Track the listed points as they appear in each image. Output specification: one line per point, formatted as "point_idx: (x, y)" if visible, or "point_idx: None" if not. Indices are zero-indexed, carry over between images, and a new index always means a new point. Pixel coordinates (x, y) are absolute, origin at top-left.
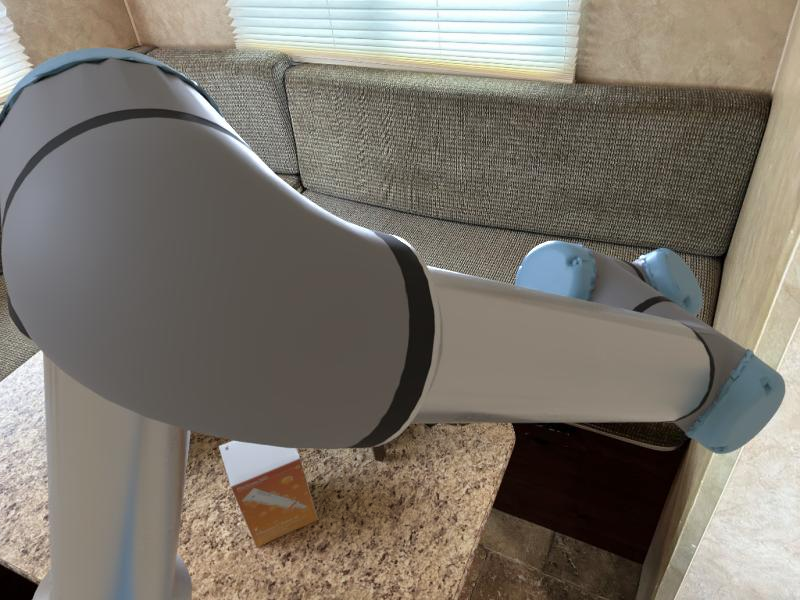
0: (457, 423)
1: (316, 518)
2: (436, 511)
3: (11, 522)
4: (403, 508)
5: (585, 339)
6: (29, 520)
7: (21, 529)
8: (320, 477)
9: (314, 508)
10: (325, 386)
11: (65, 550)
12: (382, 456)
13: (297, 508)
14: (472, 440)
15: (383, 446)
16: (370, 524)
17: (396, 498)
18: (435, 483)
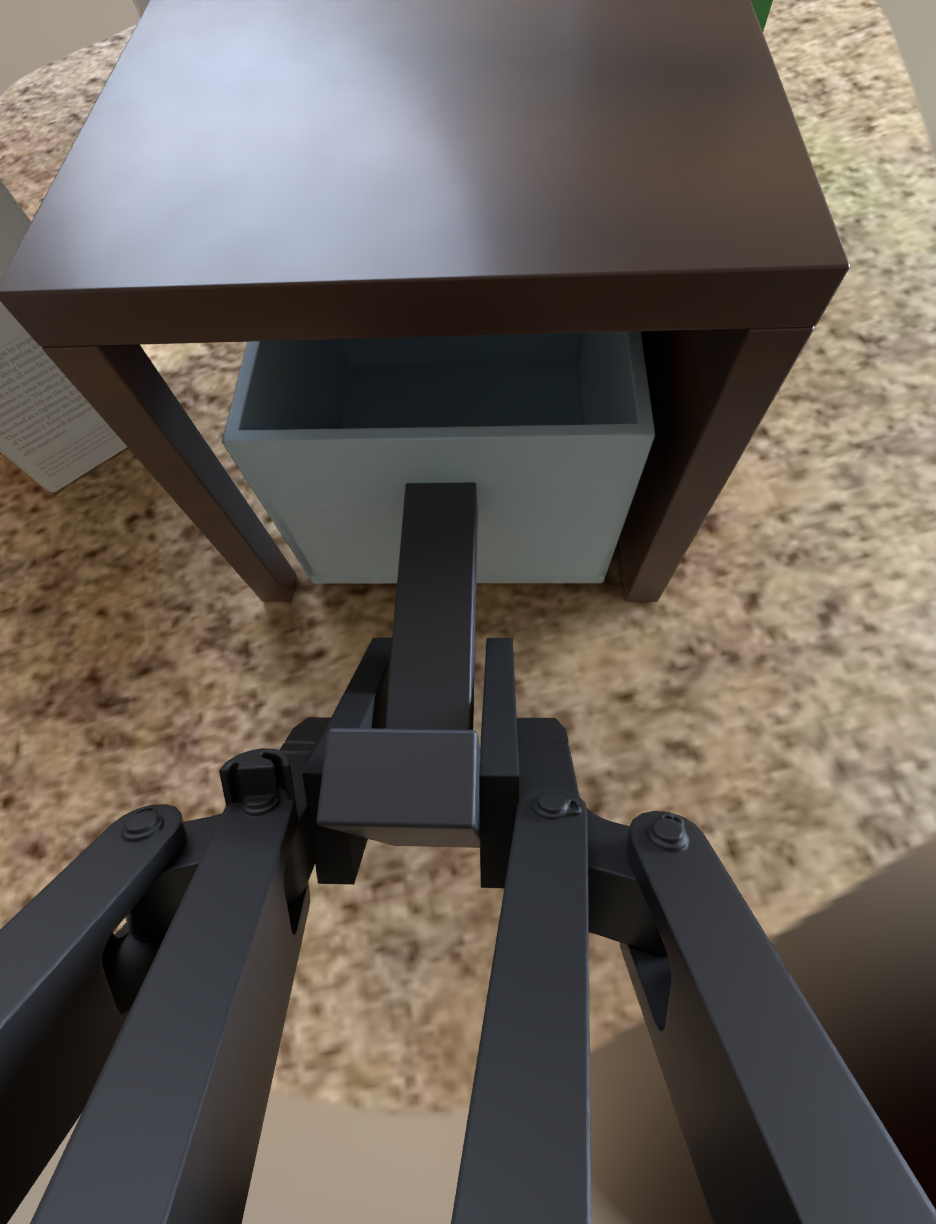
0: (401, 845)
1: (40, 485)
2: (63, 843)
3: (84, 51)
4: (82, 720)
5: None
6: (87, 66)
7: (70, 67)
8: None
9: (2, 453)
10: None
11: None
12: (251, 587)
13: None
14: (410, 923)
15: (259, 572)
16: (29, 635)
17: (121, 686)
18: (184, 809)
